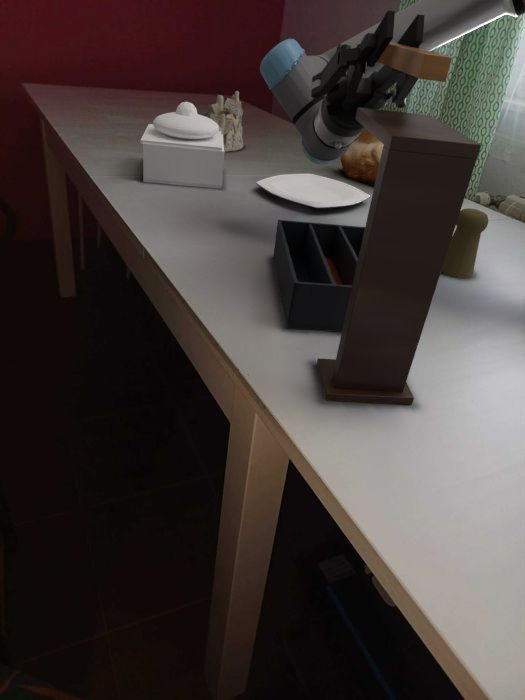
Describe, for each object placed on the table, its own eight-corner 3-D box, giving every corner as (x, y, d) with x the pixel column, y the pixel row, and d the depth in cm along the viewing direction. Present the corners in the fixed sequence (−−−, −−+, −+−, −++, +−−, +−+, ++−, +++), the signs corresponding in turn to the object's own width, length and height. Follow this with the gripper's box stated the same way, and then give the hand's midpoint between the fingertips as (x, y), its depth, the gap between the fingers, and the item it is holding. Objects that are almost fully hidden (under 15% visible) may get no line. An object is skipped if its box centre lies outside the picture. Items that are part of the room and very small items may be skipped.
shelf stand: (307, 330, 72) (348, 106, 57) (379, 335, 73) (438, 116, 58) (325, 400, 60) (384, 136, 45) (411, 404, 61) (497, 148, 46)
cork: (441, 260, 99) (459, 202, 93) (474, 269, 97) (495, 210, 91) (435, 271, 94) (454, 210, 89) (470, 281, 93) (492, 219, 87)
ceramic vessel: (414, 200, 131) (431, 136, 123) (327, 172, 144) (337, 112, 136) (439, 192, 140) (456, 131, 132) (355, 166, 153) (366, 110, 145)
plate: (241, 188, 123) (242, 180, 122) (309, 178, 138) (310, 170, 137) (315, 221, 110) (316, 211, 109) (381, 205, 124) (383, 197, 123)
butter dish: (222, 188, 121) (227, 113, 113) (140, 181, 119) (139, 104, 111) (221, 168, 136) (225, 100, 128) (148, 161, 134) (148, 91, 125)
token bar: (367, 57, 65) (371, 38, 63) (387, 60, 65) (391, 41, 64) (419, 78, 48) (425, 53, 47) (445, 82, 48) (452, 57, 47)
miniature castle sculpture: (213, 134, 167) (215, 82, 158) (253, 149, 159) (258, 94, 150) (176, 143, 156) (176, 87, 147) (217, 159, 149) (220, 101, 140)
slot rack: (272, 258, 92) (277, 219, 88) (361, 264, 93) (369, 227, 90) (287, 328, 72) (294, 282, 68) (398, 335, 74) (410, 291, 70)
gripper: (394, 143, 80) (473, 71, 57) (291, 133, 78) (329, 54, 55) (397, 92, 80) (479, -2, 56) (294, 80, 78) (334, -22, 55)
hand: (405, 26), depth 56 cm, fingers closed on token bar, 2 cm apart
